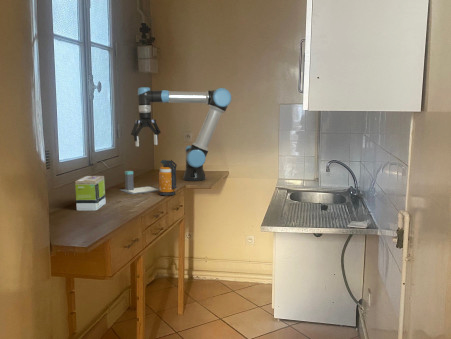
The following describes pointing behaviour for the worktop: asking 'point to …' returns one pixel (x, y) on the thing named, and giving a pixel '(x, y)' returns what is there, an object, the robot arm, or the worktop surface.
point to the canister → (167, 178)
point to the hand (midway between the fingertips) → (146, 145)
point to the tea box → (90, 193)
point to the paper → (141, 190)
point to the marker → (129, 180)
